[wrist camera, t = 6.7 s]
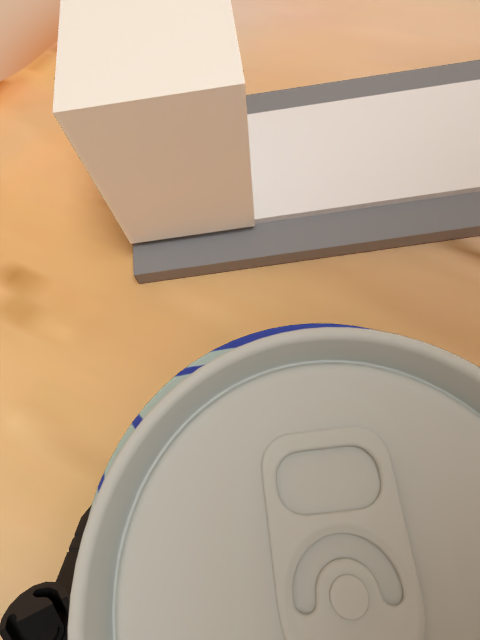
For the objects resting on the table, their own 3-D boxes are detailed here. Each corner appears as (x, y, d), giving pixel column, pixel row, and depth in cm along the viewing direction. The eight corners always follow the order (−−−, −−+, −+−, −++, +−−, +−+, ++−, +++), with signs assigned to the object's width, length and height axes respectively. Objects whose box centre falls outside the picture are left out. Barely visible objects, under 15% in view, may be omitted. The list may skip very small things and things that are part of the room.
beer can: (418, 482, 19) (876, 484, 5) (331, 663, 17) (667, 1816, 2) (266, 388, 22) (243, 183, 7) (172, 536, 19) (-168, 715, 5)
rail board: (624, 51, 31) (811, -177, 20) (728, 200, 26) (1052, -1, 15) (134, 125, 32) (64, -56, 21) (139, 283, 27) (50, 149, 16)
